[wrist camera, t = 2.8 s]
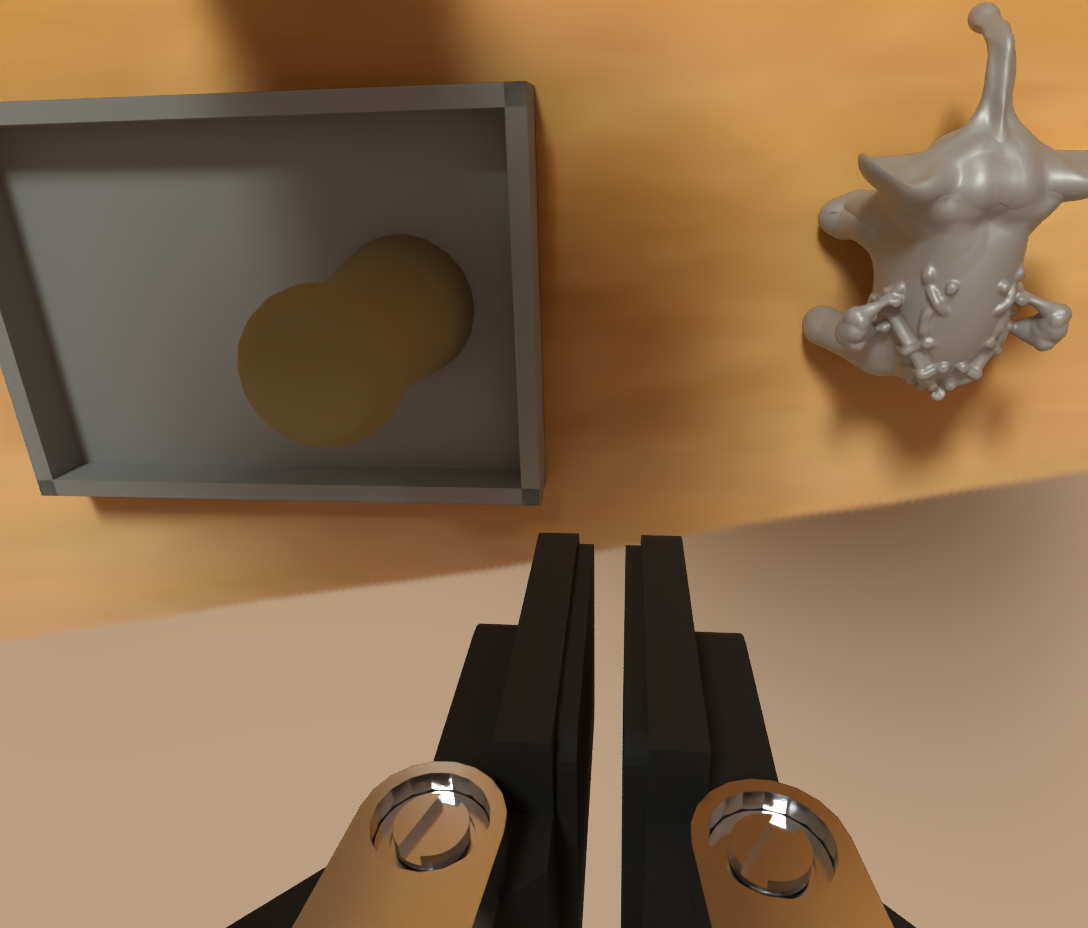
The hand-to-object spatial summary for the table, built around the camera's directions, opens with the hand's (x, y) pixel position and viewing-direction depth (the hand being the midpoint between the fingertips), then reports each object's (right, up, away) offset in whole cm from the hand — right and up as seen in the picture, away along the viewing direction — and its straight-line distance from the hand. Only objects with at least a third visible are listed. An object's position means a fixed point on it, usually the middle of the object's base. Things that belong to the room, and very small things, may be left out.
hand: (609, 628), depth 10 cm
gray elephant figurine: (+13, +12, +19) cm, 26 cm away
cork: (-7, +9, +22) cm, 25 cm away
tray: (-13, +9, +23) cm, 28 cm away
